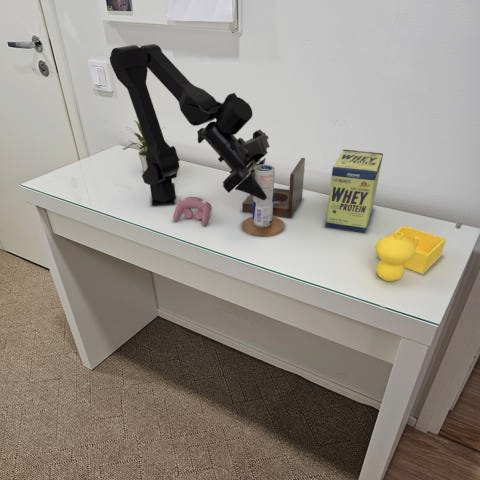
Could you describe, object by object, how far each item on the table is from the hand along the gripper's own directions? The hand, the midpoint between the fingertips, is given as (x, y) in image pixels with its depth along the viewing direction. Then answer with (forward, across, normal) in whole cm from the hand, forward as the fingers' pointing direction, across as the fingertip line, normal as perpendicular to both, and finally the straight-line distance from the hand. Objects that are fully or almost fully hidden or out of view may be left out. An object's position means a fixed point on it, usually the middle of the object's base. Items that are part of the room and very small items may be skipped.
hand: (268, 194), depth 109 cm
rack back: (+9, +13, +3) cm, 17 cm away
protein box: (+20, +12, -8) cm, 25 cm away
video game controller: (-8, -2, +21) cm, 23 cm away
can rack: (+5, +13, +8) cm, 16 cm away
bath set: (+30, -9, -18) cm, 36 cm away
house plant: (-29, +28, +42) cm, 58 cm away
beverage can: (+5, 0, +7) cm, 9 cm away
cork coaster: (+5, 0, +7) cm, 9 cm away
